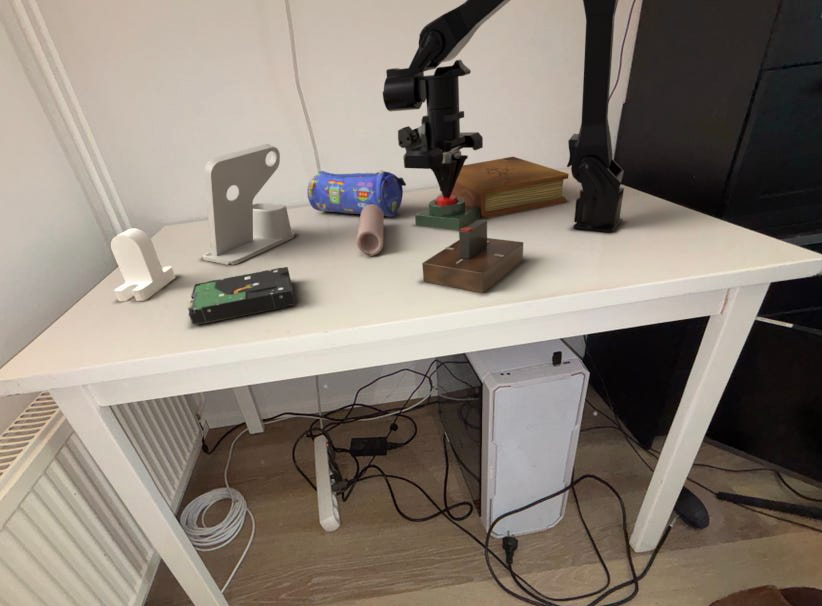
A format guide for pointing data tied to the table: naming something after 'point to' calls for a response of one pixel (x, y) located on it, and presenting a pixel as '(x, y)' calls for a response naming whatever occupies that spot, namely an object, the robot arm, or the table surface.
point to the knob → (473, 239)
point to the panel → (473, 265)
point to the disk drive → (240, 295)
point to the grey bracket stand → (243, 206)
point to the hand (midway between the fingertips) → (446, 197)
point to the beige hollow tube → (370, 230)
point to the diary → (509, 186)
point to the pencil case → (356, 192)
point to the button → (446, 200)
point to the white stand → (138, 266)
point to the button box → (448, 215)
